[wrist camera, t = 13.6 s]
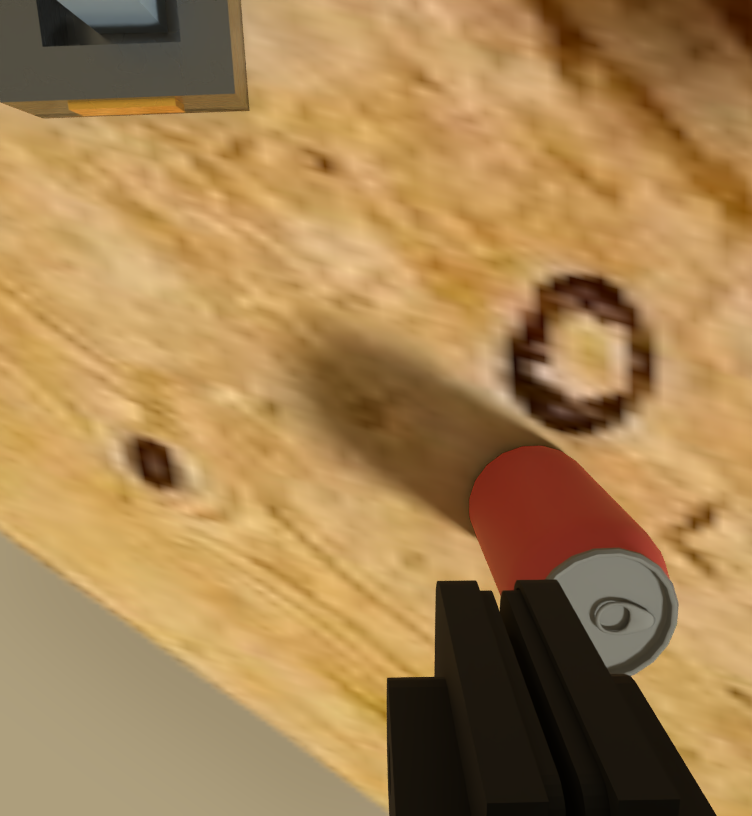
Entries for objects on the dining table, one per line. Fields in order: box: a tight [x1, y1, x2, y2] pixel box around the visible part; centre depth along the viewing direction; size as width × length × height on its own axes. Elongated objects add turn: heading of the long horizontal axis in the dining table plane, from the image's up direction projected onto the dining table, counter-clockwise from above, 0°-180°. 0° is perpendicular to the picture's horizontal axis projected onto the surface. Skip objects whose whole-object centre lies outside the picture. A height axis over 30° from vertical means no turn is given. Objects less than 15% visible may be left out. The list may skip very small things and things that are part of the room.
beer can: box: [469, 446, 678, 676], centre depth 32 cm, size 7×7×12 cm
